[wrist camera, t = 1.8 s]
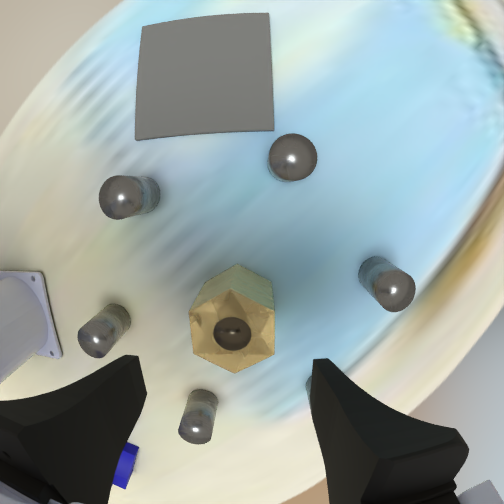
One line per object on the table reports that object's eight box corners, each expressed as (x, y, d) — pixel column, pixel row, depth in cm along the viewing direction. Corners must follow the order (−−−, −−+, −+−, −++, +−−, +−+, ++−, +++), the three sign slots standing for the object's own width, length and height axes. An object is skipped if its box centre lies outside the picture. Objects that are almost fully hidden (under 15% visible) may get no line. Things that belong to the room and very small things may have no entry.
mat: (137, 140, 18) (134, 139, 18) (144, 28, 16) (142, 26, 16) (273, 131, 18) (274, 130, 18) (268, 15, 16) (268, 12, 16)
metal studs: (125, 402, 23) (108, 430, 19) (87, 160, 19) (55, 157, 15) (367, 404, 22) (381, 434, 18) (393, 149, 18) (421, 143, 14)
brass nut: (209, 333, 21) (195, 372, 16) (203, 264, 20) (186, 288, 15) (271, 333, 21) (274, 373, 16) (271, 263, 20) (274, 288, 15)
